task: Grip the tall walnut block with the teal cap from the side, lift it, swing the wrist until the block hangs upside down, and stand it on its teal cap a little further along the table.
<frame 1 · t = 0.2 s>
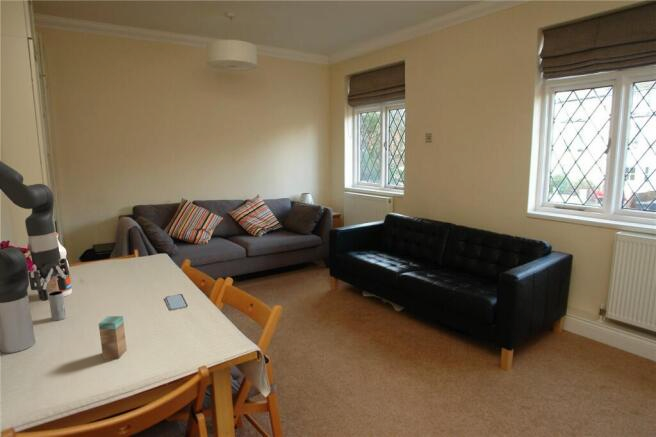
hand: (54, 295, 130), 18 cm above the table, tool pointing down, fingers open, 8 cm apart
white strawberry milk bottle: (60, 295, 177), on the table
smartphone: (176, 303, 168), on the table
planter: (59, 318, 153), on the table
walnut block: (115, 354, 127), on the table
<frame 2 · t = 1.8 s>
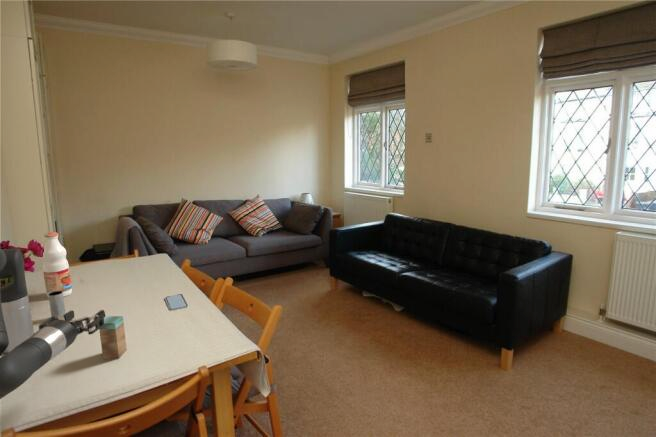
hand: (88, 313, 113), 19 cm above the table, tool horizontal, fingers open, 8 cm apart
nothing on the table moved.
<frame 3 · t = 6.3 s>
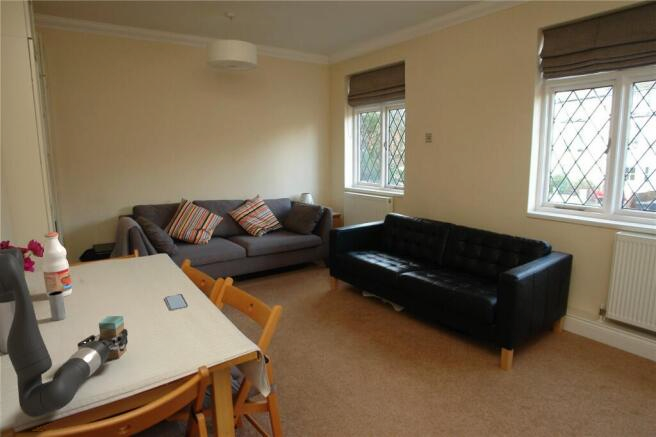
hand: (116, 331, 129), 7 cm above the table, tool horizontal, fingers closed on walnut block, 5 cm apart
walnut block: (115, 354, 127), on the table, touching gripper
everything else where it was.
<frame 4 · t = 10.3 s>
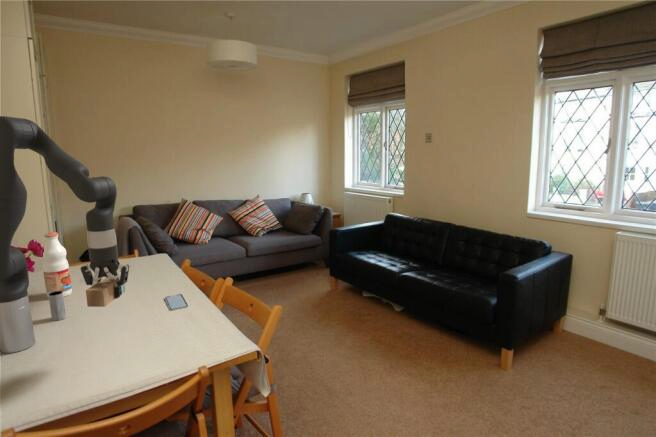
hand: (108, 297, 122), 20 cm above the table, tool pointing down, fingers closed on walnut block, 5 cm apart
walnut block: (95, 298, 115), point 22 cm above the table, tilted 90°, touching gripper
everything else where it was.
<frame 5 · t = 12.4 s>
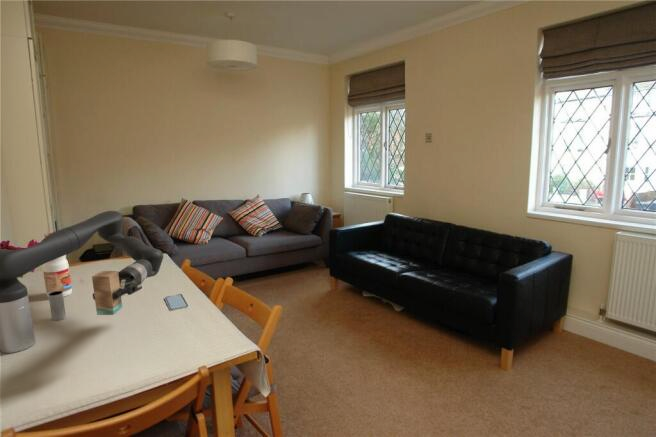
hand: (104, 297, 118), 22 cm above the table, tool horizontal, fingers closed on walnut block, 5 cm apart
walnut block: (105, 273, 118), point 28 cm above the table, tilted 180°, touching gripper
everything else where it was.
when the fingers open (7 cm above the table, at t = 15.6 s): walnut block drops 1 cm, point 12 cm above the table.
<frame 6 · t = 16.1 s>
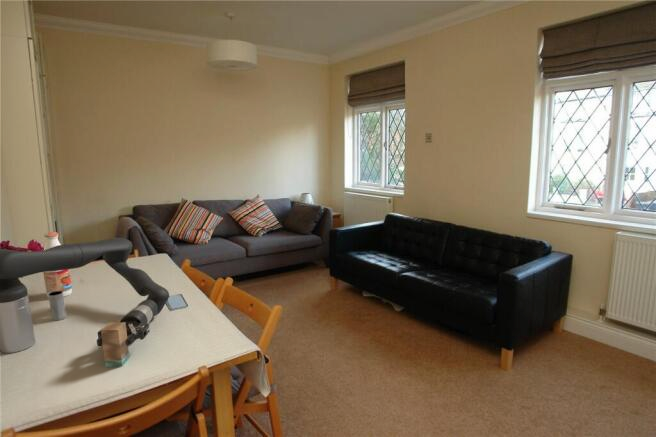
hand: (112, 343, 120), 7 cm above the table, tool horizontal, fingers open, 8 cm apart
walnut block: (113, 326, 121), point 12 cm above the table, tilted 180°
everything else where it was.
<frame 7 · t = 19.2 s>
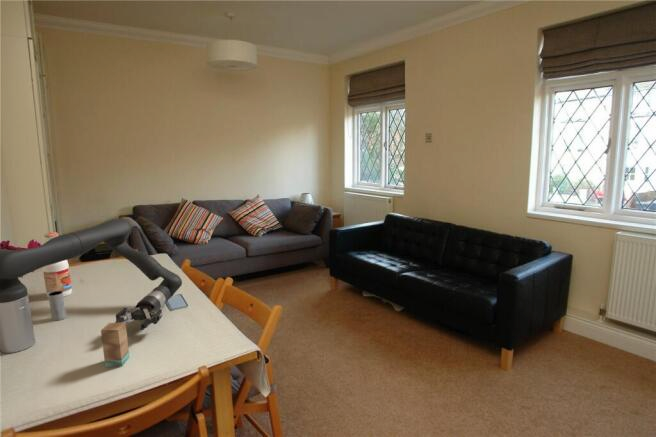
hand: (128, 326, 133), 6 cm above the table, tool horizontal, fingers open, 8 cm apart
nothing on the table moved.
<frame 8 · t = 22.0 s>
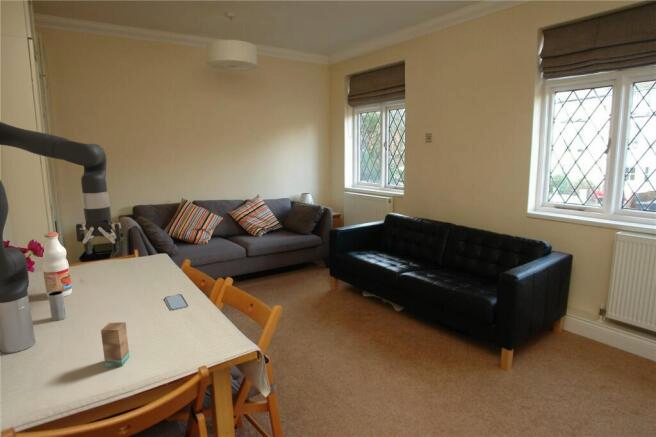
hand: (102, 253, 133), 30 cm above the table, tool pointing down, fingers open, 8 cm apart
nothing on the table moved.
at the end: walnut block tilted 180°; walnut block inside the target area (0.5 cm from its centre), point 12.0 cm above the table; the gripper is holding nothing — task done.
